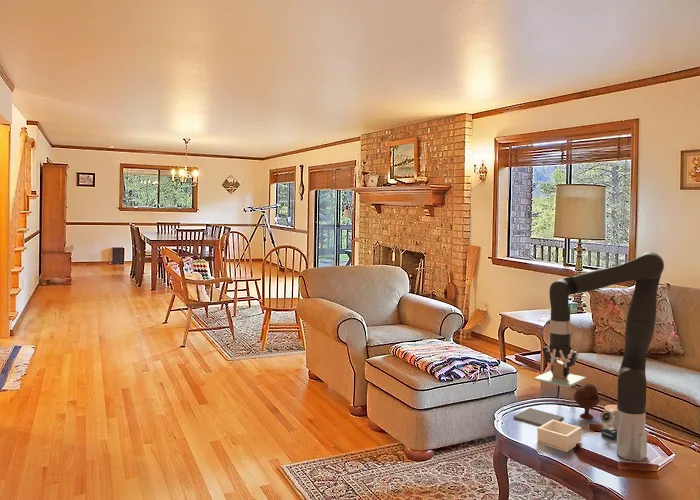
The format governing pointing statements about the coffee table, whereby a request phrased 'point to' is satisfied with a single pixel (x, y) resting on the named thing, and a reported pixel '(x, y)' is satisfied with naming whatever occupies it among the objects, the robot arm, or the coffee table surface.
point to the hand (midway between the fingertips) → (560, 374)
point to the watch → (606, 420)
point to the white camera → (611, 408)
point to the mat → (537, 417)
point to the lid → (559, 376)
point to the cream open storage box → (559, 435)
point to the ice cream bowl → (587, 399)
